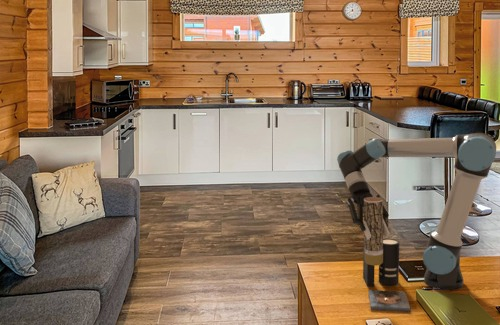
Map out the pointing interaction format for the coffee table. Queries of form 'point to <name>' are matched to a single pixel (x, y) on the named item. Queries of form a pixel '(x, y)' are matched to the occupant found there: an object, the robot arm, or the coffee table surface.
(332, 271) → the coffee table surface
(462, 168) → the robot arm
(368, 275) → the light fixture
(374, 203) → the paper tube
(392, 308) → the plate
